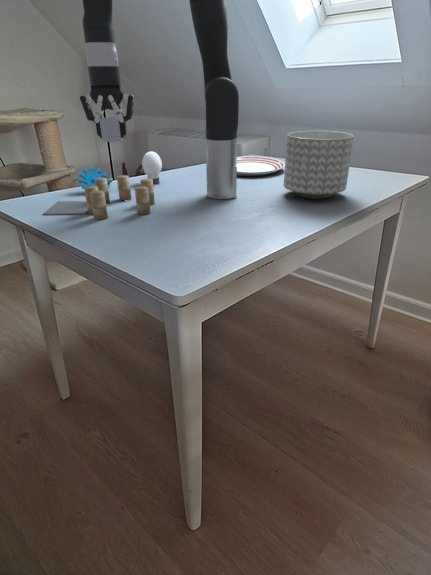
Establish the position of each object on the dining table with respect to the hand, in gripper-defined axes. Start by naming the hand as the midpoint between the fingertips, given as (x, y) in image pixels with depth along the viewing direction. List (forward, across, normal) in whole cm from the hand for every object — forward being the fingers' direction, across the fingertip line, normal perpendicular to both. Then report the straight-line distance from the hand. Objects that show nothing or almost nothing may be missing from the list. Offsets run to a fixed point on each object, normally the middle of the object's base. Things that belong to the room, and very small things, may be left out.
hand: (112, 137), depth 105 cm
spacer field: (+19, 0, 0) cm, 19 cm away
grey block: (+1, 0, 0) cm, 1 cm away
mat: (+19, +15, 0) cm, 24 cm away
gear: (+20, +12, -19) cm, 30 cm away
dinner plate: (+20, -41, -49) cm, 67 cm away
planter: (+20, -58, -11) cm, 63 cm away
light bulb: (+20, -5, -29) cm, 35 cm away
